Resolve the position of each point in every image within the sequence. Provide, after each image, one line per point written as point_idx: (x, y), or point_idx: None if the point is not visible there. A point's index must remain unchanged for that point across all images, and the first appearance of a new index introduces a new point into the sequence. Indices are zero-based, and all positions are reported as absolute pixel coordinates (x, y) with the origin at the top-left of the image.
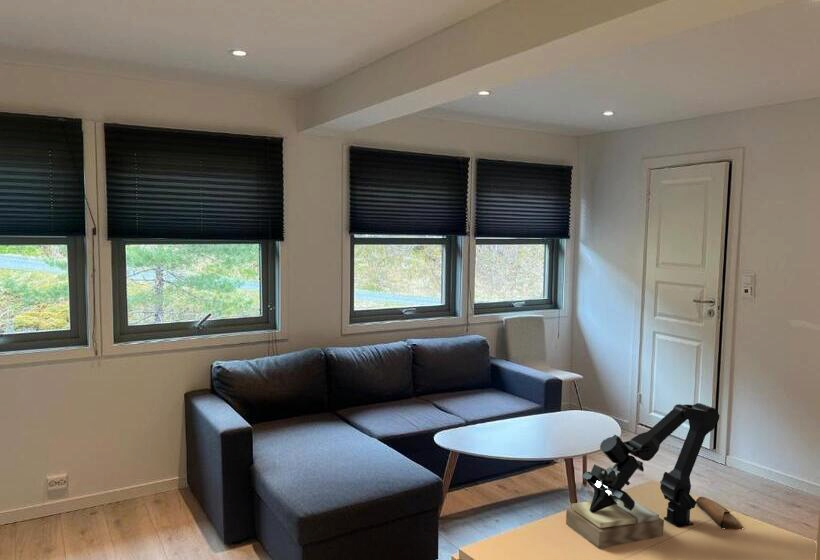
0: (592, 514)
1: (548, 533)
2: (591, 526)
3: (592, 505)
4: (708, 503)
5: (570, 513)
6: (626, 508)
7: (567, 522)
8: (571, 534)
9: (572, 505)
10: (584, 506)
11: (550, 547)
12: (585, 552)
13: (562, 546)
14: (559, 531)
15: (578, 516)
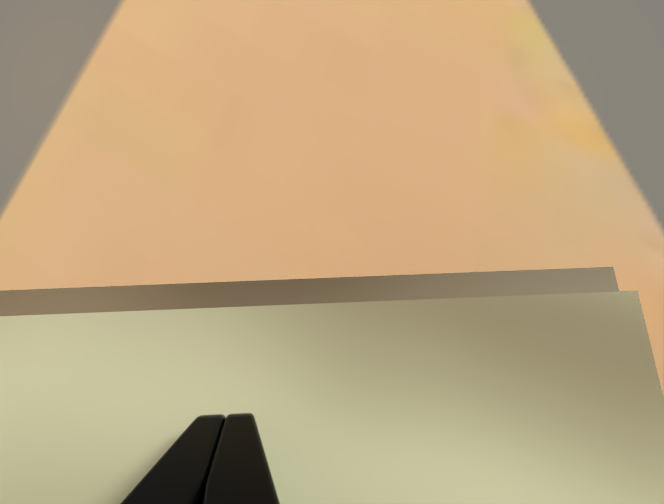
0: (144, 402)
1: (398, 93)
2: (53, 290)
3: (215, 493)
4: None
5: (512, 278)
6: None
7: None
8: (333, 254)
9: (593, 295)
10: (496, 470)
11: (205, 10)
12: (31, 192)
13: (184, 85)
14: (409, 187)
15: (363, 293)
